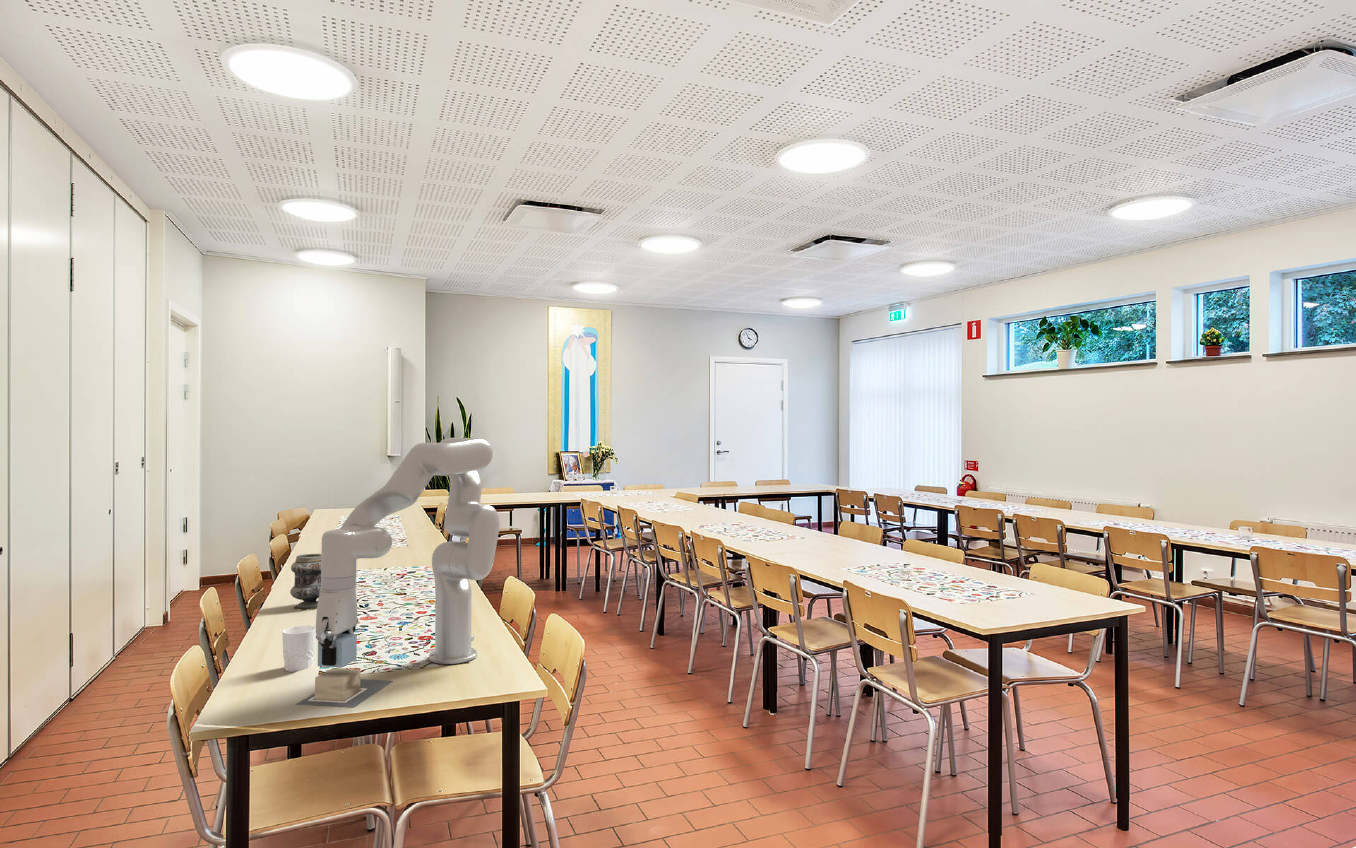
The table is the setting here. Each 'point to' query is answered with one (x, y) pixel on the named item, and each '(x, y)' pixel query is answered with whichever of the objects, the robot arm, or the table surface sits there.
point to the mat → (365, 692)
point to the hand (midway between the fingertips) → (337, 659)
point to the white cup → (298, 647)
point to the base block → (337, 684)
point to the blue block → (342, 650)
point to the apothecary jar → (307, 580)
